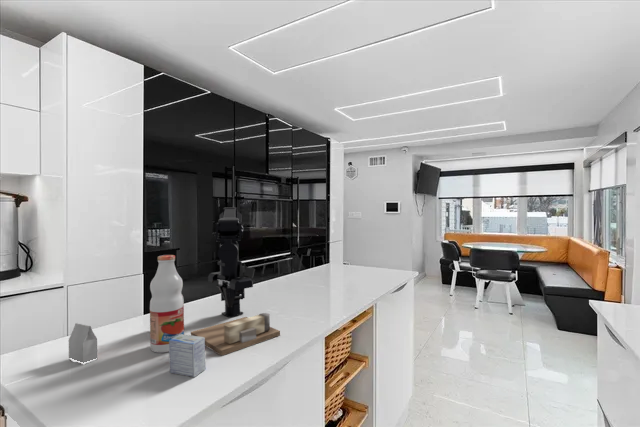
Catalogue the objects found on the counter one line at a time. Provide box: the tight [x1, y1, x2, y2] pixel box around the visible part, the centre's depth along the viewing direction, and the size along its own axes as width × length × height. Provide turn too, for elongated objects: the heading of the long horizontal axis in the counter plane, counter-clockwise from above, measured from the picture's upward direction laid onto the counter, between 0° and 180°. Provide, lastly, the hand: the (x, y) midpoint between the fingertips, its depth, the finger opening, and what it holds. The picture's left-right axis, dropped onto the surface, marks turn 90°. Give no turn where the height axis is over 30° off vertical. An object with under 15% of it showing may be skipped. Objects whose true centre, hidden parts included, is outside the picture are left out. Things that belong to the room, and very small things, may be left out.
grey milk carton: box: [68, 322, 98, 363], centre depth 90 cm, size 4×7×10 cm, turn 65°
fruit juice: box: [149, 254, 185, 354], centre depth 99 cm, size 9×9×28 cm
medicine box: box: [168, 333, 206, 378], centre depth 83 cm, size 8×4×9 cm, turn 71°
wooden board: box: [190, 316, 281, 357], centre depth 107 cm, size 21×21×4 cm
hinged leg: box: [224, 312, 271, 344], centre depth 103 cm, size 16×4×5 cm, turn 137°
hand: (229, 306), depth 103 cm, fingers closed
